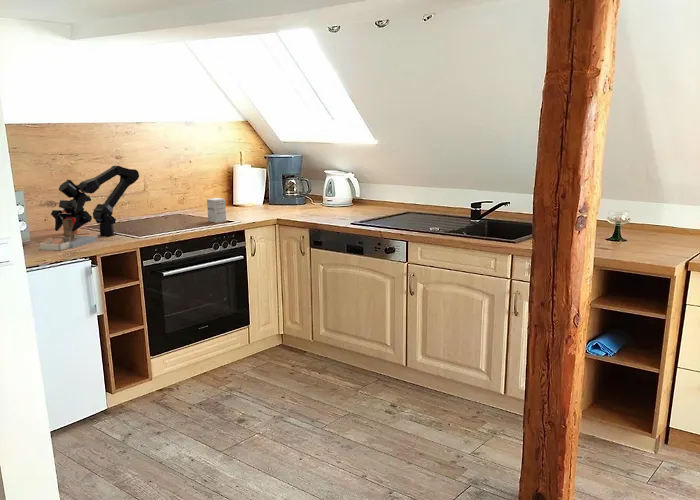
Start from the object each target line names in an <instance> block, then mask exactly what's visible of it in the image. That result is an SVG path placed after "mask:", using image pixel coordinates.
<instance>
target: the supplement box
mask: <svg viewBox="0 0 700 500" xmlns="http://www.w3.org/2000/svg"><path fill="white" fill-rule="evenodd" d="M206 205H207V220H208V222H209V223H216V224H217V223H222V222H227V211H226V199H225V198H221V197H214V198H206Z"/></svg>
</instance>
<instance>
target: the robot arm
mask: <svg viewBox="0 0 700 500" xmlns="http://www.w3.org/2000/svg"><path fill="white" fill-rule="evenodd" d="M139 173H140V172H139V171H138V170H137V169H131V168H127V167H123V166H121V165H112V166H111V167H110V168H108V169H107V170H105V171H103V172H101V173H100V174H97V176H94V177H92V178H87V179H85V180H82V181H81V182H79V184H76V183H74V182H73V181H72V180H71V179H66V181H64V182H63V183H62V184H60V185H59V187H58V191H59V192H61V193H62V194H64V195H65V196H66V197H67V198H69V199H70V200H66V199H65V200H64V199H61V200H59V203H58V208H60V209H61V208H63V209H64V211H65V212H66V213H63V212H62V211H61V210H60V209H54V210H52V211H51V213H50V215H51V216H52V218H54V220H55V221H54V222H55V225H54V230H55V232H58V231H59V230H60V229H61V227H63V222H62V220H63V219H66V217H67V218H76V221H75V223H74V226H73V228H72V231H73V232H74V231H75V230H77V231H78V229H79V228H82V226H84V225H86V224H88V223H91V222H92V221H93V220H92V219H94V220H95V222H96V224H99V234H98V235H97V237H105V238H106V237H108V238H109V237H113V236H115V235H117V233H115V231H114V224H116V221H117V219H116V218H115V217H114V216H113V211H114V207H115V206H116V205H117V203H118V202H119V200H120V199H121V197H122V196H123V195H124V194H125V192H126V190H127V189H128V188H129V187H130V186H131V185H133V184H135V183H136V182H137V181H138V180H139V178H140V174H139ZM116 176H118V177H119V182H118V183H117V184H116V186H115V187H114V189H113V190H112V191H111V193H110V194H109V195H108V197H107V199H106V200H105V201H104V202H103V203H102V204H101V203H97V205H96V206H95V208H94V209H93V211H92V215H91V213H90V212H88V211H87V210H85V208H84V206H85V204H86V203H87V202H91V201H92V199H91V197H90V195H87V194H94V193H96V192H97V191H98V190H99V189H100V187H101V186H102V185H103V184H105V183H106V182H109V181H110V180H111V179H113V178H115V177H116ZM71 198H72V199H71Z"/></svg>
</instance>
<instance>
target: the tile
mask: <svg viewBox="0 0 700 500" xmlns="http://www.w3.org/2000/svg"><path fill="white" fill-rule="evenodd" d="M52 241H53V242H52ZM52 241H51V242H52V243H51V244H62V243H64V242H65V241H64V240H63V238H55V239H54V240H53V239H52Z"/></svg>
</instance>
